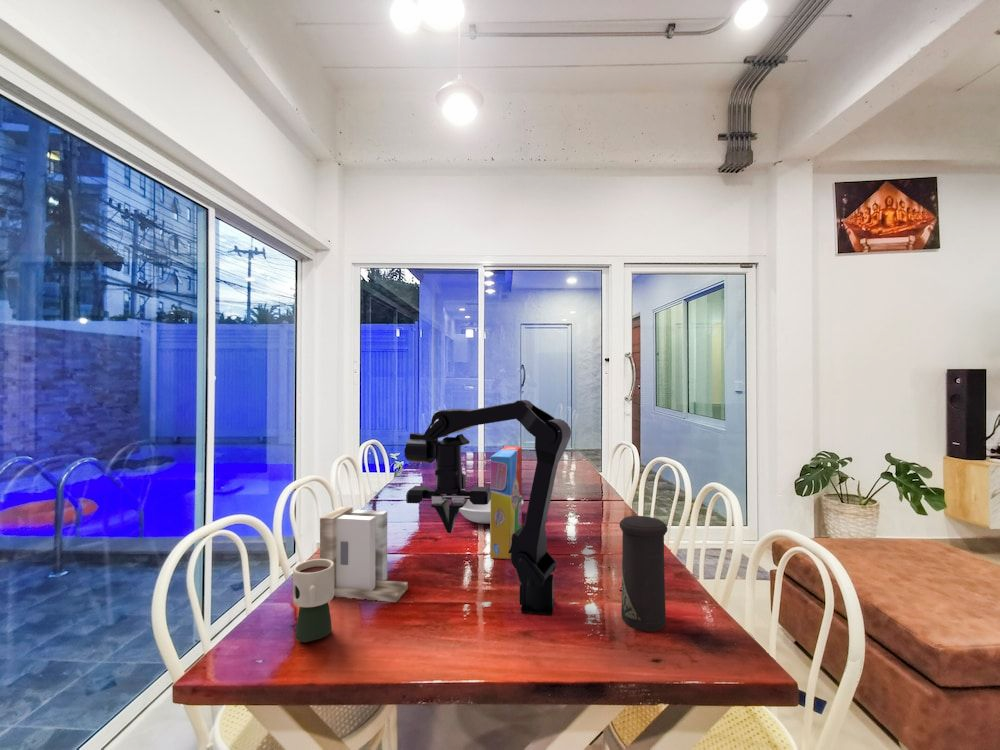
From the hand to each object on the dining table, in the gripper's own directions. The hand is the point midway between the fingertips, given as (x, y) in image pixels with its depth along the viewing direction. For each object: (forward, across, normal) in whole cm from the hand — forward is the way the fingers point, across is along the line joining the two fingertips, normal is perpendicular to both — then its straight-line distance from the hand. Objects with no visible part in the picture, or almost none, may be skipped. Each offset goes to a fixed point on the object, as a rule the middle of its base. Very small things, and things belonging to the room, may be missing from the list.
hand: (449, 532), depth 104 cm
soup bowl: (+13, 0, -51) cm, 53 cm away
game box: (+13, -9, -29) cm, 33 cm away
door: (+12, +21, +4) cm, 24 cm away
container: (+14, -41, +8) cm, 44 cm away
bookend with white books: (+12, +19, +3) cm, 23 cm away
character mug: (+13, +20, +22) cm, 33 cm away
